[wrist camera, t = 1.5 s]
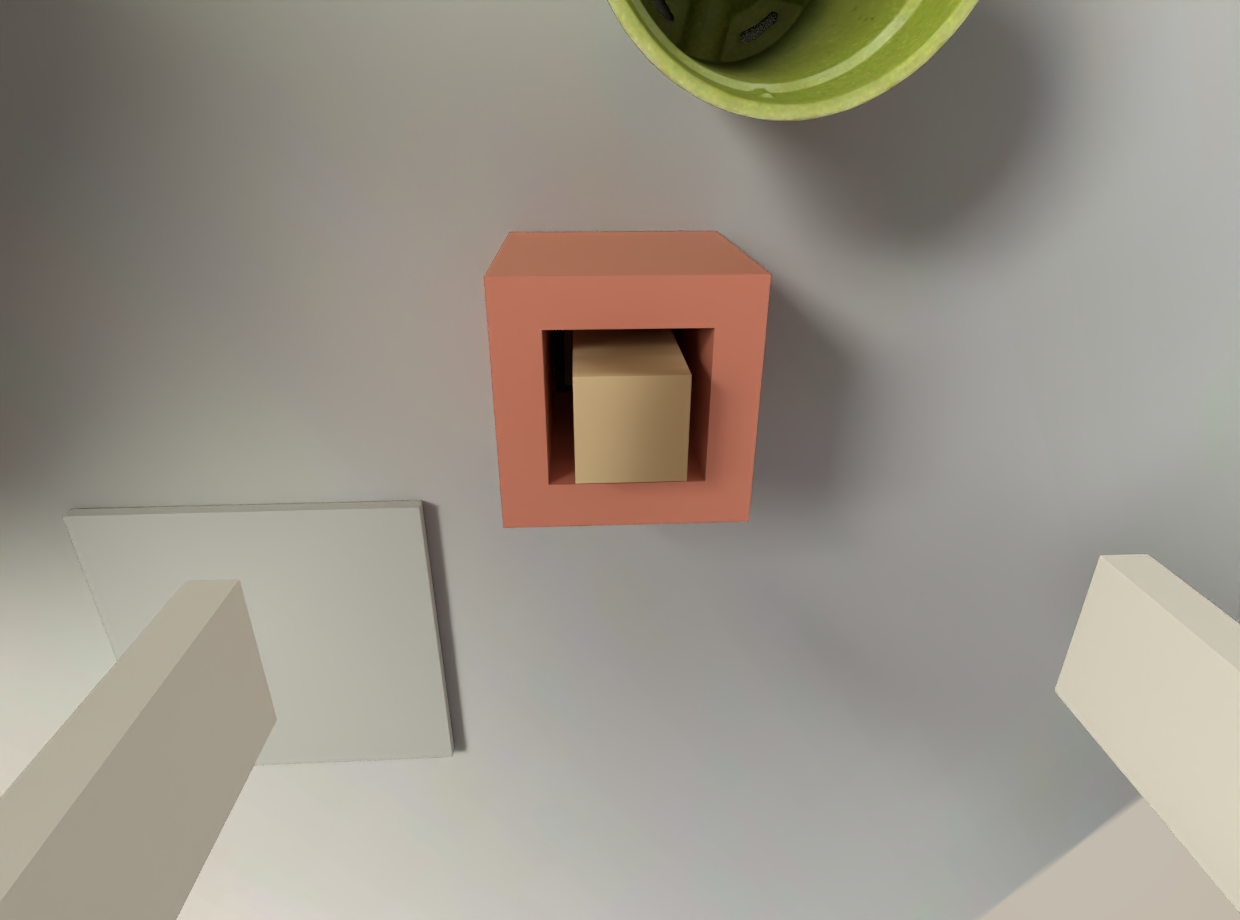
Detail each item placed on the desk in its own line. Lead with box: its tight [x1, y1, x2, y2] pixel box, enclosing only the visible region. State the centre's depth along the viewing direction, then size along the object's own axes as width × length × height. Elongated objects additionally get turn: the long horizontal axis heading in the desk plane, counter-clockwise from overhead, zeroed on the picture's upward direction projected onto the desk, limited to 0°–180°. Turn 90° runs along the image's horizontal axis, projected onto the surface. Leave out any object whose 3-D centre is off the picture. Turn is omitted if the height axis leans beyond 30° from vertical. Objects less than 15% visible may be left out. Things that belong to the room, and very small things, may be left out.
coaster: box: [62, 500, 454, 766], centre depth 32 cm, size 14×14×1 cm
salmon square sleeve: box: [484, 231, 771, 528], centre depth 24 cm, size 7×7×8 cm
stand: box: [563, 328, 692, 484], centre depth 23 cm, size 4×4×10 cm
